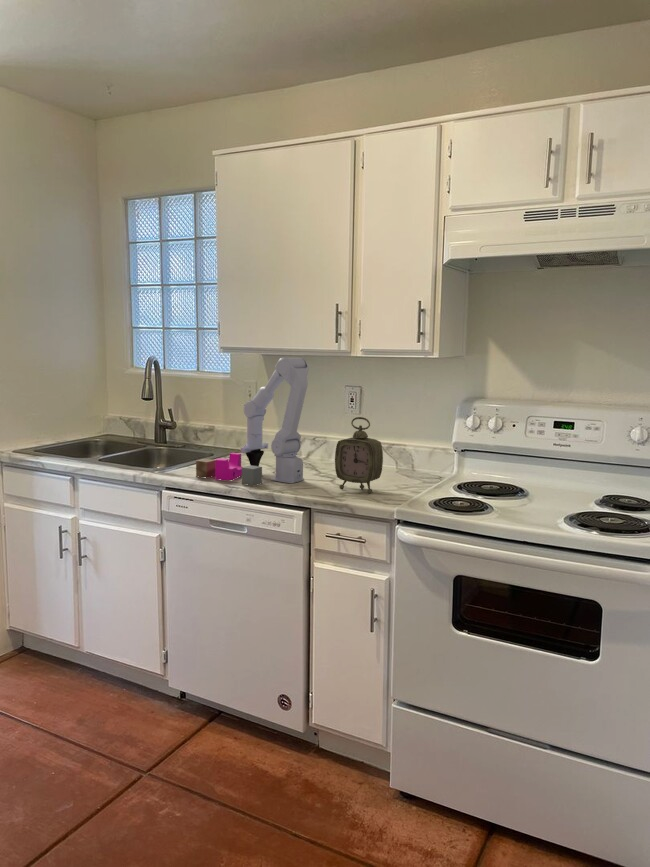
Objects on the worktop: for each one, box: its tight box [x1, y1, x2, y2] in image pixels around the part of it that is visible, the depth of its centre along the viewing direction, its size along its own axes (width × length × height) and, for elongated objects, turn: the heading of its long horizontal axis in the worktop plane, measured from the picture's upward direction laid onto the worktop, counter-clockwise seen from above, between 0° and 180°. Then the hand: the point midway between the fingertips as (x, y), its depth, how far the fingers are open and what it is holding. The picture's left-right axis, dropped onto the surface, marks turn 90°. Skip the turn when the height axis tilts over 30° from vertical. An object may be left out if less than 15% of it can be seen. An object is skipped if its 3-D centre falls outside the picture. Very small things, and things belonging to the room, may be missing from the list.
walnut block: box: [195, 458, 216, 479], centre depth 242 cm, size 5×5×6 cm
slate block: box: [241, 464, 263, 486], centre depth 231 cm, size 5×5×6 cm
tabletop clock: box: [334, 416, 384, 494], centre depth 224 cm, size 14×9×25 cm, turn 59°
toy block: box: [214, 452, 243, 481], centre depth 243 cm, size 15×6×8 cm, turn 165°
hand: (254, 469), depth 249 cm, fingers closed
